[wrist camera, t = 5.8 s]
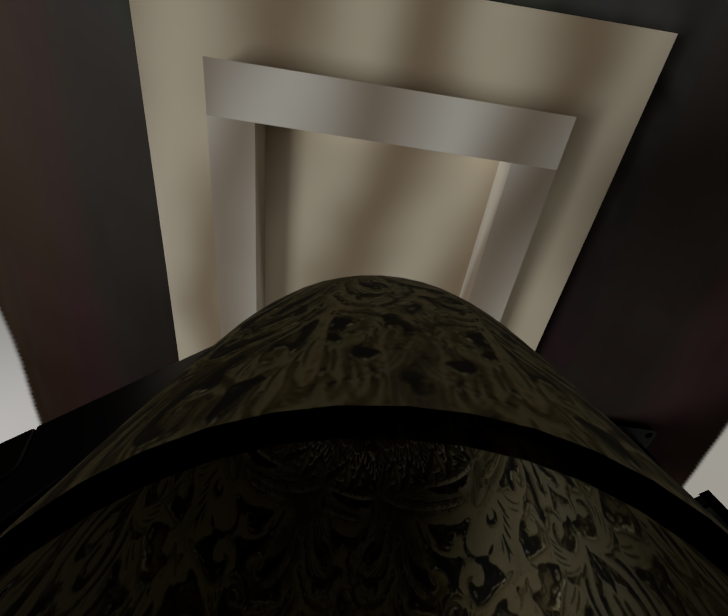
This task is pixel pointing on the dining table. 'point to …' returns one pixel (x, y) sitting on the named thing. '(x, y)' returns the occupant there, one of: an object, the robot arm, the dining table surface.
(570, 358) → the dining table surface
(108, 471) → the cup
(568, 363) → the dining table surface
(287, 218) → the docking plate
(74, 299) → the dining table surface
